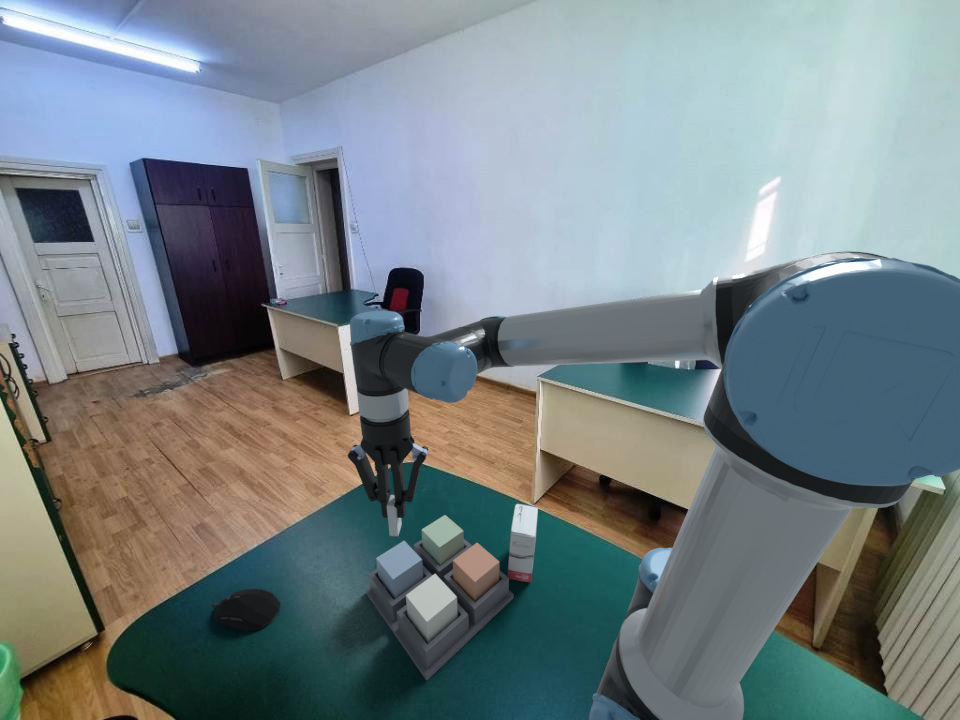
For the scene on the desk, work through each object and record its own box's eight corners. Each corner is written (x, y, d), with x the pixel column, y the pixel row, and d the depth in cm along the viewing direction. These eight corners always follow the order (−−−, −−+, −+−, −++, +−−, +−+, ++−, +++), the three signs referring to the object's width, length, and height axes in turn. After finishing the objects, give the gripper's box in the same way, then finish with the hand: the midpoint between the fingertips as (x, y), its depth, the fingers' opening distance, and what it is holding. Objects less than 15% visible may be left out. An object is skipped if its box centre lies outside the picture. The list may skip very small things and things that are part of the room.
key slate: (423, 579, 70) (422, 559, 68) (395, 600, 66) (393, 579, 64) (406, 560, 74) (404, 540, 72) (378, 578, 70) (376, 558, 68)
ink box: (532, 584, 73) (535, 537, 69) (507, 579, 74) (508, 532, 70) (535, 549, 81) (538, 505, 77) (512, 545, 82) (514, 501, 78)
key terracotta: (499, 582, 69) (499, 561, 67) (475, 603, 65) (475, 582, 64) (477, 562, 73) (477, 542, 72) (453, 580, 69) (452, 560, 68)
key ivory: (457, 618, 63) (456, 596, 61) (428, 644, 59) (426, 621, 57) (436, 594, 67) (435, 573, 65) (407, 616, 63) (405, 595, 61)
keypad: (513, 598, 70) (514, 578, 69) (426, 681, 58) (425, 659, 56) (447, 537, 84) (447, 519, 83) (365, 593, 71) (363, 573, 70)
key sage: (463, 549, 76) (463, 530, 74) (440, 567, 72) (439, 547, 71) (445, 533, 80) (445, 514, 79) (422, 548, 76) (421, 529, 75)
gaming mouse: (220, 589, 73) (215, 574, 71) (288, 602, 70) (284, 587, 69) (191, 621, 67) (185, 605, 65) (264, 636, 64) (259, 620, 63)
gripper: (430, 401, 61) (435, 515, 69) (352, 399, 62) (366, 513, 70) (421, 424, 54) (428, 548, 62) (333, 422, 55) (351, 546, 63)
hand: (395, 530), depth 66 cm, fingers closed
